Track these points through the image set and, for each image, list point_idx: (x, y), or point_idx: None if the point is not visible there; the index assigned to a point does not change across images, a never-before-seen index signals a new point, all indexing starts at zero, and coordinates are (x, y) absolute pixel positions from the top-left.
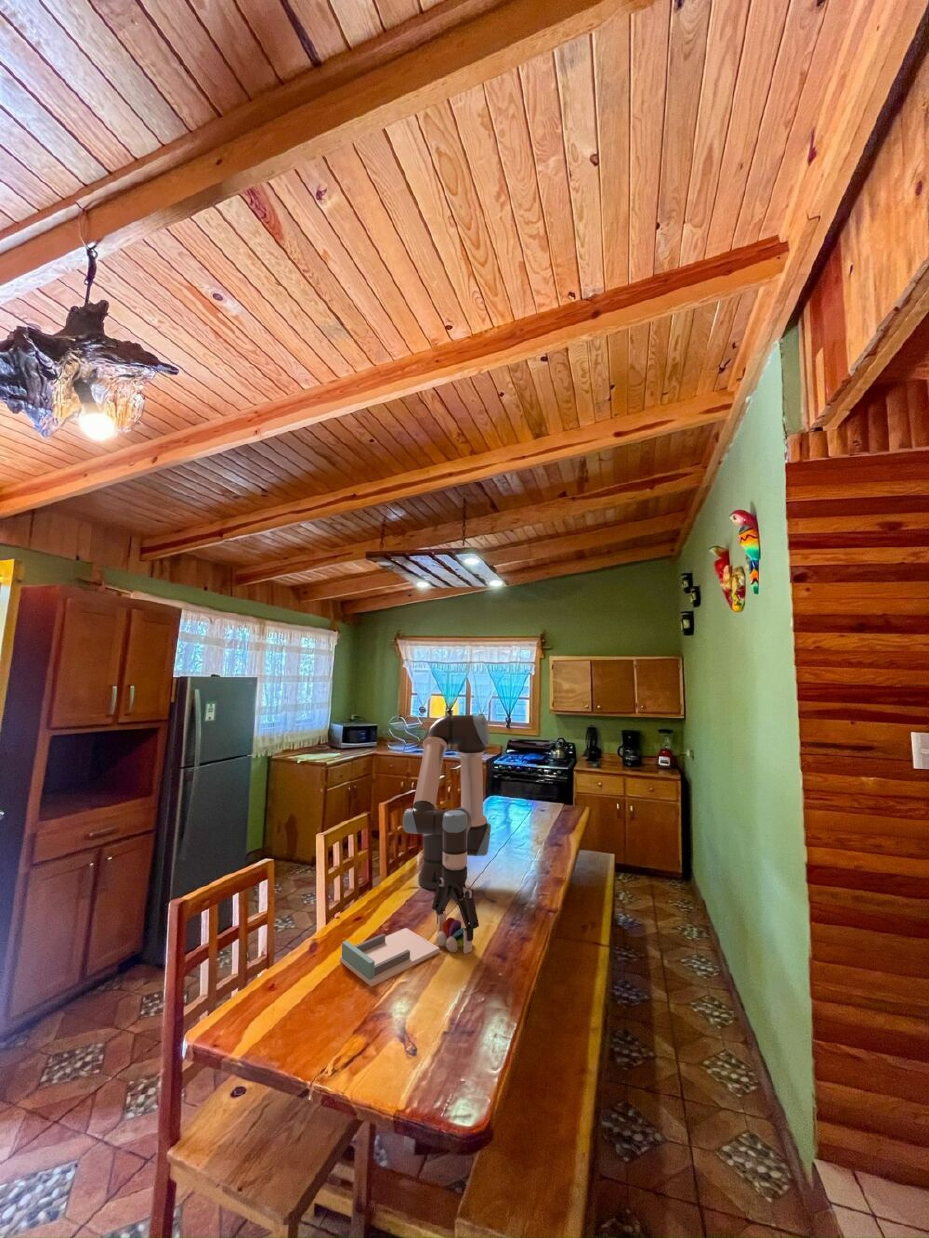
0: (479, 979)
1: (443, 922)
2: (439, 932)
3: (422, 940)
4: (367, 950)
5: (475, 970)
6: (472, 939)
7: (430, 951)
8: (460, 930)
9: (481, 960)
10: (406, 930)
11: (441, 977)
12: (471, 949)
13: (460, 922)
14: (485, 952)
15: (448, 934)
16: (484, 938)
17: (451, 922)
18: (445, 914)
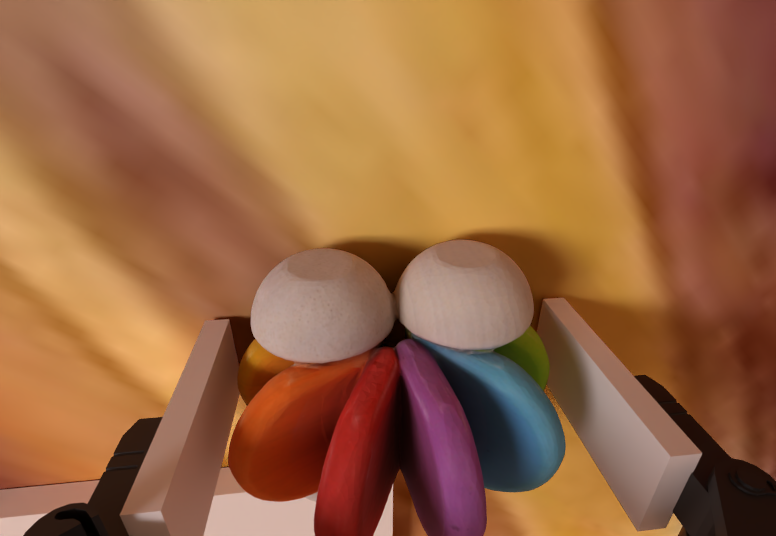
0: (749, 425)
1: (243, 486)
2: (310, 498)
3: (226, 510)
4: None
5: (694, 399)
6: (650, 385)
7: (385, 524)
8: (546, 478)
9: (681, 315)
10: (2, 532)
11: (568, 529)
12: (565, 306)
13: (475, 451)
14: (661, 227)
15: (398, 466)
16: (528, 51)
17: (372, 498)
18: (169, 504)
